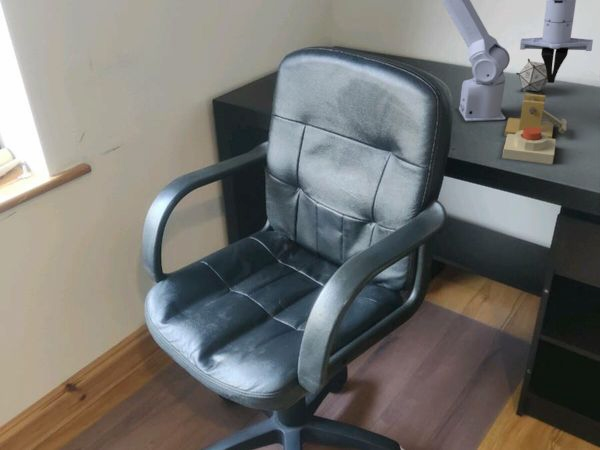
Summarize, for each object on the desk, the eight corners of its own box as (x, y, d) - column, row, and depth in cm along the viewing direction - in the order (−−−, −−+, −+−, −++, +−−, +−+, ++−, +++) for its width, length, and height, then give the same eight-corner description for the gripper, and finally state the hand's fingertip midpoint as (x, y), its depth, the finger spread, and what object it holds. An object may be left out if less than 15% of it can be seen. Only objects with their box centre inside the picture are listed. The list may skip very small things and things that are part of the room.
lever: (561, 126, 141) (569, 118, 139) (560, 136, 137) (568, 128, 135) (525, 102, 141) (532, 93, 139) (523, 111, 137) (530, 102, 135)
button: (540, 135, 131) (542, 127, 130) (539, 142, 128) (541, 134, 127) (522, 133, 132) (524, 125, 131) (521, 140, 130) (522, 132, 129)
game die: (535, 103, 164) (564, 73, 160) (529, 102, 157) (559, 71, 153) (511, 81, 167) (539, 51, 162) (503, 79, 160) (532, 48, 155)
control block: (554, 148, 134) (557, 131, 132) (552, 164, 128) (555, 147, 125) (506, 142, 137) (508, 125, 135) (502, 158, 131) (504, 141, 129)
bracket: (552, 127, 143) (559, 94, 139) (551, 141, 137) (557, 107, 132) (508, 122, 146) (512, 89, 142) (504, 135, 140) (509, 102, 136)
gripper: (521, 24, 131) (515, 85, 138) (595, 24, 126) (585, 88, 133) (524, 15, 137) (518, 75, 144) (596, 16, 131) (586, 78, 138)
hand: (551, 81), depth 139 cm, fingers closed
